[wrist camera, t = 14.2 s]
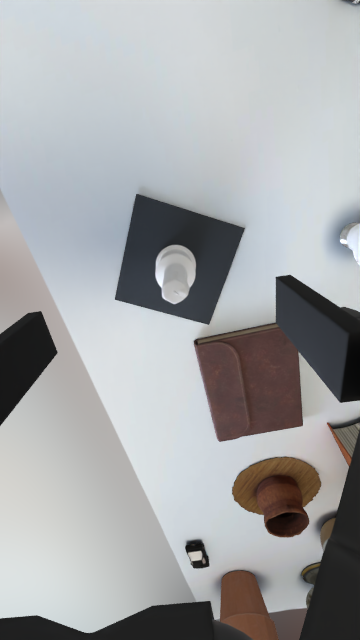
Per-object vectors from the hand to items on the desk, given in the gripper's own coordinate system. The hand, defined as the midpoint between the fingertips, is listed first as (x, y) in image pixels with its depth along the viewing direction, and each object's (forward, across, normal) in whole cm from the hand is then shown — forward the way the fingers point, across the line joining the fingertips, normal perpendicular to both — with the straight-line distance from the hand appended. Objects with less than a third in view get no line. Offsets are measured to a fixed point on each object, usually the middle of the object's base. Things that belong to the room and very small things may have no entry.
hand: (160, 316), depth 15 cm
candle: (+22, 0, -2) cm, 22 cm away
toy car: (+22, -5, -71) cm, 74 cm away
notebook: (+22, +10, -23) cm, 33 cm away
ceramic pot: (+22, +14, -50) cm, 56 cm away
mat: (+22, 0, -2) cm, 22 cm away
